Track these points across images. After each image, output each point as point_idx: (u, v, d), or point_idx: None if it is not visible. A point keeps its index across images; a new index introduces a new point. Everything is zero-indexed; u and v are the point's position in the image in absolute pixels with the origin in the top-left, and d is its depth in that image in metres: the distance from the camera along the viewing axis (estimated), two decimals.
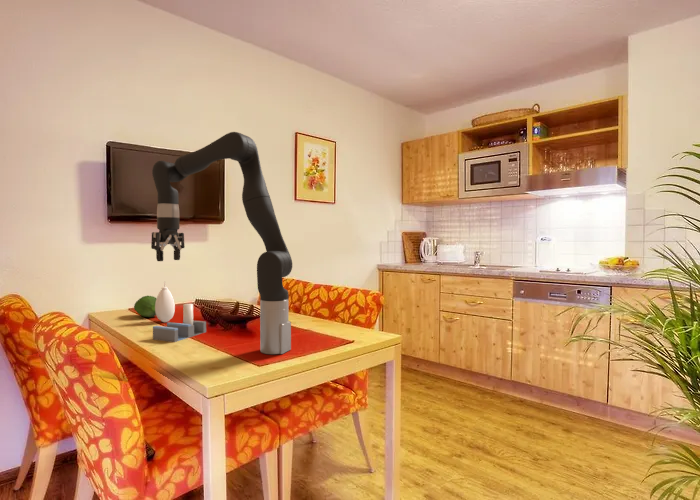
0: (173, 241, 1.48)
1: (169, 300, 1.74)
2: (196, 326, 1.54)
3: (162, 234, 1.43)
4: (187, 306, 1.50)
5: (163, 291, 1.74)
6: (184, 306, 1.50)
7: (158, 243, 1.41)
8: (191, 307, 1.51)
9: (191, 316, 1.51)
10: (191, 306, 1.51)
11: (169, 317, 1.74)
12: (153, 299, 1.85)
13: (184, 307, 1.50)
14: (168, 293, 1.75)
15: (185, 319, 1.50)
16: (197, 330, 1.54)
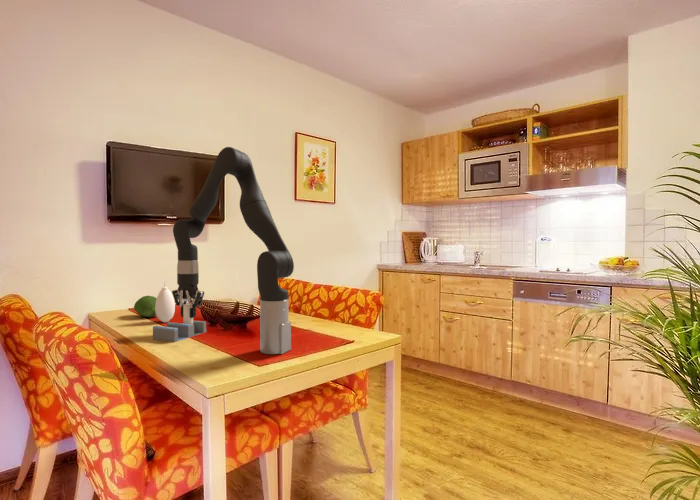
0: None
1: (169, 300, 1.74)
2: (196, 326, 1.54)
3: None
4: (187, 306, 1.50)
5: (163, 291, 1.74)
6: (184, 306, 1.50)
7: None
8: None
9: None
10: None
11: (169, 317, 1.74)
12: (153, 299, 1.85)
13: (184, 307, 1.50)
14: (168, 293, 1.75)
15: (185, 319, 1.50)
16: (197, 330, 1.54)
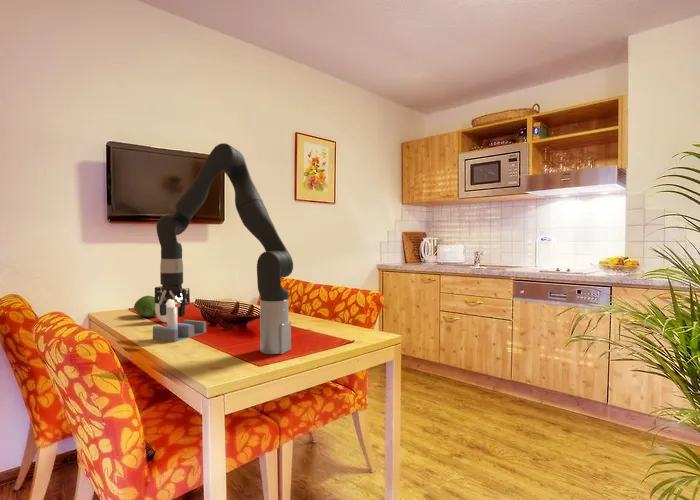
0: None
1: (169, 300, 1.74)
2: (196, 326, 1.54)
3: None
4: (171, 309, 1.43)
5: None
6: (167, 309, 1.43)
7: None
8: (175, 310, 1.44)
9: (175, 320, 1.44)
10: (175, 309, 1.44)
11: None
12: (153, 299, 1.85)
13: (167, 310, 1.43)
14: None
15: (169, 323, 1.43)
16: (197, 330, 1.54)
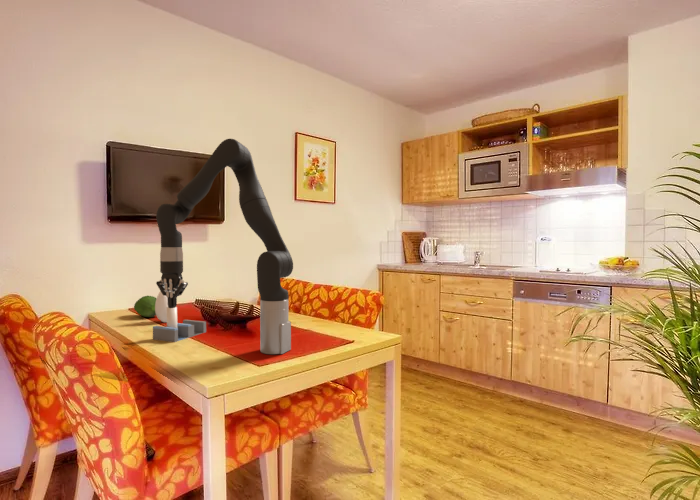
0: None
1: None
2: (196, 326, 1.54)
3: (181, 279, 1.44)
4: (171, 309, 1.43)
5: None
6: (167, 309, 1.43)
7: None
8: (175, 310, 1.44)
9: (175, 320, 1.44)
10: (175, 309, 1.44)
11: None
12: (153, 299, 1.85)
13: (167, 310, 1.43)
14: None
15: (169, 323, 1.43)
16: (197, 330, 1.54)
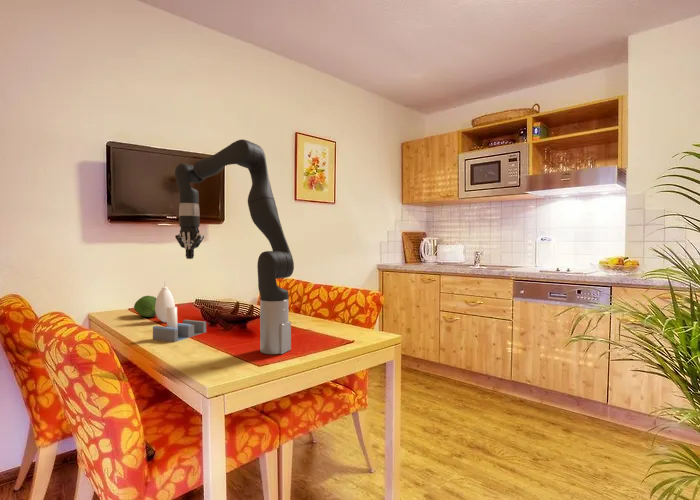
0: None
1: (169, 300, 1.74)
2: (196, 326, 1.54)
3: (198, 233, 1.58)
4: (171, 309, 1.43)
5: (163, 291, 1.74)
6: (167, 309, 1.43)
7: None
8: (175, 310, 1.44)
9: (175, 320, 1.44)
10: (175, 309, 1.44)
11: None
12: (153, 299, 1.85)
13: (167, 310, 1.43)
14: (168, 293, 1.75)
15: (169, 323, 1.43)
16: (197, 330, 1.54)
